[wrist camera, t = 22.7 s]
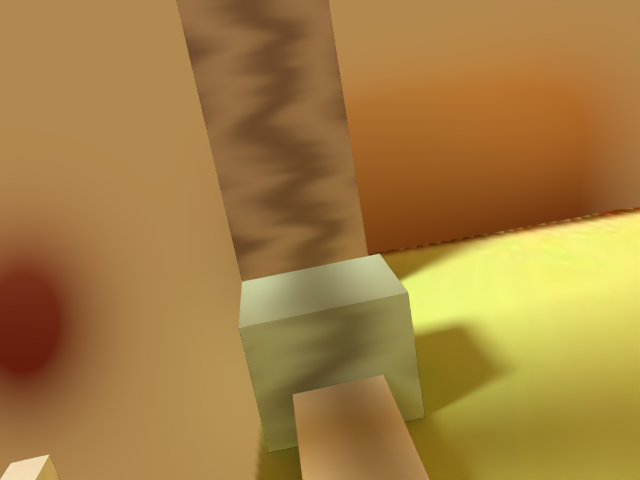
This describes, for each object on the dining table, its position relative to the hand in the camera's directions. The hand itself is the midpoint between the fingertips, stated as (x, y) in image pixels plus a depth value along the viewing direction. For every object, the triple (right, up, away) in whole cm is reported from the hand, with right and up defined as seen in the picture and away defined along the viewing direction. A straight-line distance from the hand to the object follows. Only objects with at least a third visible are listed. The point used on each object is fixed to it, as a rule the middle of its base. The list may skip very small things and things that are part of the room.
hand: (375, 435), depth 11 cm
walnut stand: (-2, 0, +34) cm, 34 cm away
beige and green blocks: (0, -6, +13) cm, 14 cm away
